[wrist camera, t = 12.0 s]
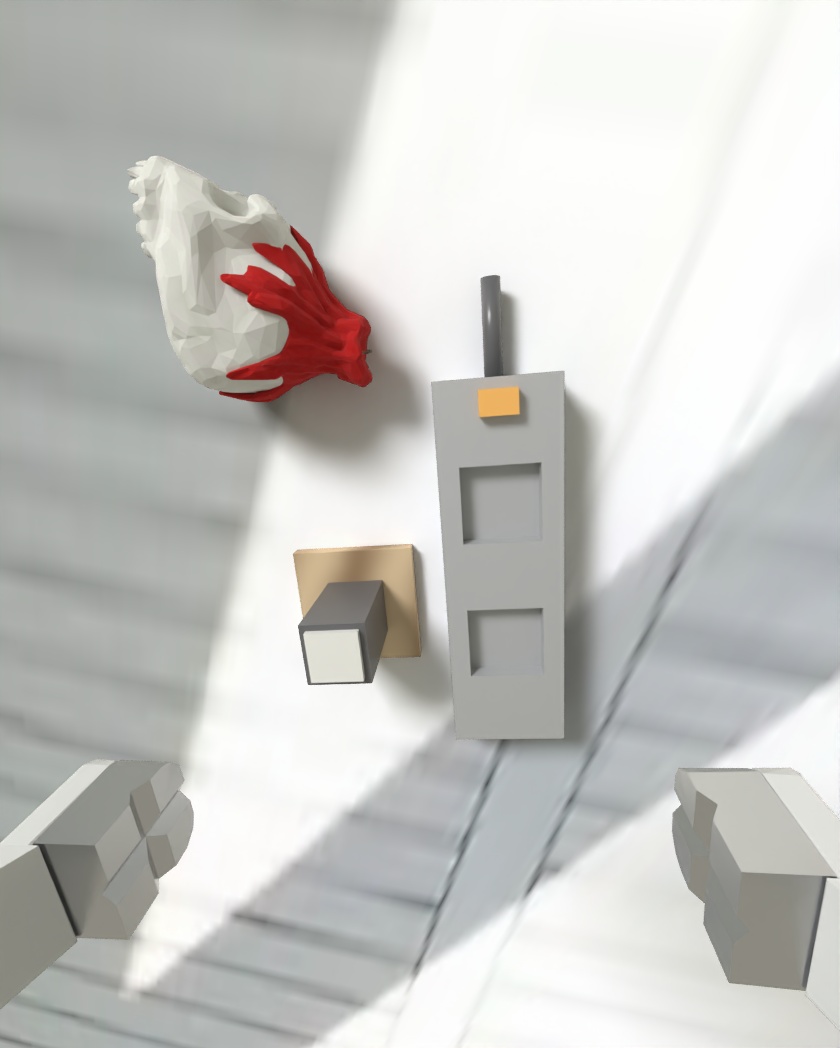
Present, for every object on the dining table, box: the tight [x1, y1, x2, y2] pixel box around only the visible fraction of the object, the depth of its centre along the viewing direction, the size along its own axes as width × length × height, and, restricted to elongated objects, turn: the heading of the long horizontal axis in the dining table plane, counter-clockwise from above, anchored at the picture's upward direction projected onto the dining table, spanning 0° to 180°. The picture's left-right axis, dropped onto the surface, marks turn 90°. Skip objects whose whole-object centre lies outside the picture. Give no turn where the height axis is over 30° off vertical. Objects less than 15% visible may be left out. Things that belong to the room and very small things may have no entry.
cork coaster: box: [293, 544, 421, 658], centre depth 36 cm, size 9×9×1 cm
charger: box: [298, 580, 388, 685], centre depth 32 cm, size 4×4×7 cm
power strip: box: [431, 275, 564, 740], centre depth 32 cm, size 8×32×4 cm, turn 4°
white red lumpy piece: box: [127, 156, 372, 402], centre depth 28 cm, size 9×11×15 cm
